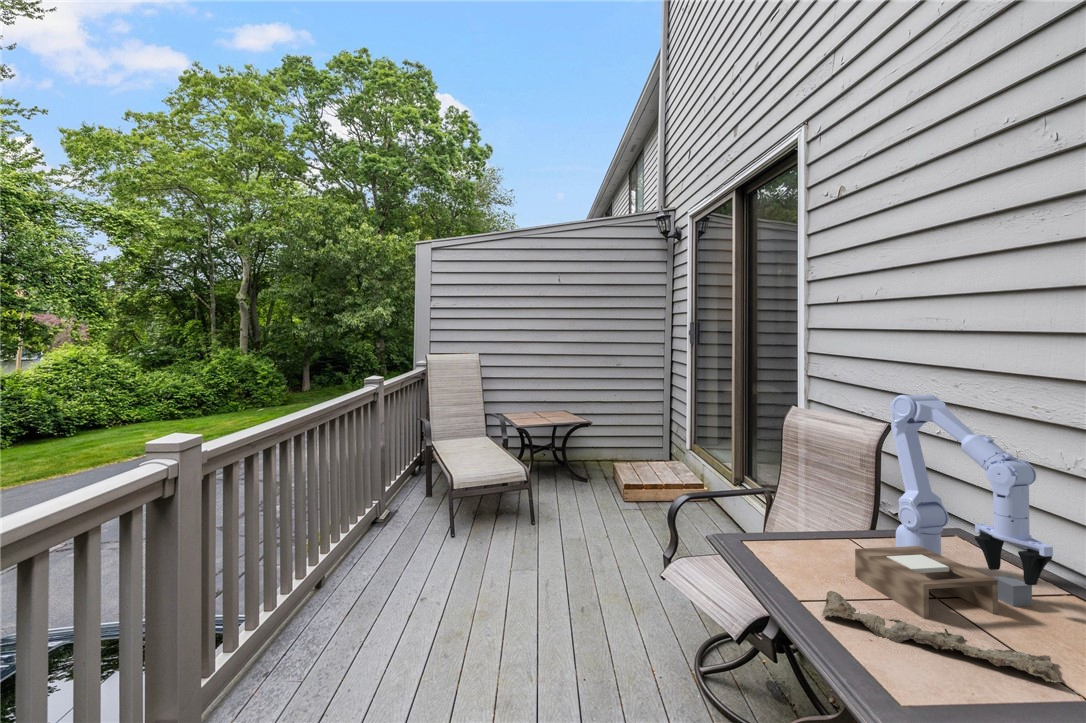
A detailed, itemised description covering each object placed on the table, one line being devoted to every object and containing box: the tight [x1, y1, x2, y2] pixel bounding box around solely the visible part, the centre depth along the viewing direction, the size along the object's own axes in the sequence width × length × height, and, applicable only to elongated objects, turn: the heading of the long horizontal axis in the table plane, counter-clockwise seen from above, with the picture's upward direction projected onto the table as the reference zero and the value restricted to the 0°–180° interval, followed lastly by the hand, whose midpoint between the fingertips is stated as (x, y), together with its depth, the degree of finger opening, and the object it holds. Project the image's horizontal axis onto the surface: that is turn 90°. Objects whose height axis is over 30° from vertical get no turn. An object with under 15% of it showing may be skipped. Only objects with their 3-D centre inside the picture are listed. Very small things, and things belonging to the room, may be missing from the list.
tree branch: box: [821, 590, 1063, 683], centre depth 92 cm, size 34×10×3 cm, turn 52°
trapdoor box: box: [854, 546, 999, 619], centre depth 110 cm, size 19×17×7 cm
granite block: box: [991, 575, 1033, 608], centre depth 107 cm, size 4×4×4 cm
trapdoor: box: [887, 555, 949, 573], centre depth 111 cm, size 7×9×1 cm
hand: (1011, 576), depth 107 cm, fingers open, 7 cm apart
